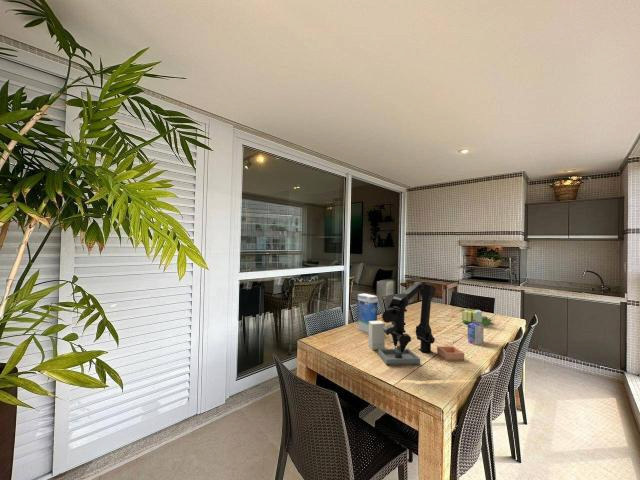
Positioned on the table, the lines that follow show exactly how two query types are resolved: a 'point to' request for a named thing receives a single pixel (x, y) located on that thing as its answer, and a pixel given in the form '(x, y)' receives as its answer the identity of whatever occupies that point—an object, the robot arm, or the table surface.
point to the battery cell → (398, 352)
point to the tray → (390, 359)
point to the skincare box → (376, 335)
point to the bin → (450, 353)
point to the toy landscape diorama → (474, 317)
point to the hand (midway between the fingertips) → (398, 349)
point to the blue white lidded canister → (366, 311)
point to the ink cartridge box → (475, 333)
